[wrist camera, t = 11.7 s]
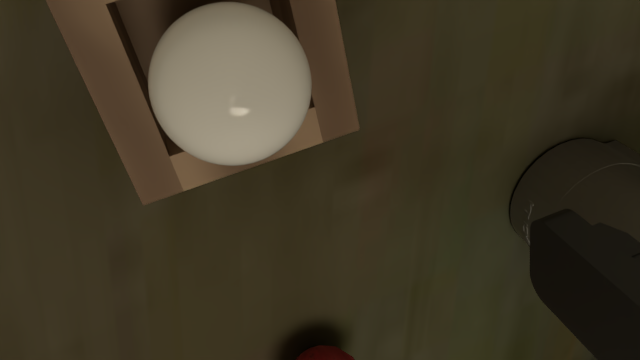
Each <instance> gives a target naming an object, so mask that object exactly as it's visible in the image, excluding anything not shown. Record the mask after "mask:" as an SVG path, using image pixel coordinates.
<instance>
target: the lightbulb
mask: <svg viewBox="0 0 640 360" xmlns="http://www.w3.org/2000/svg"><path fill="white" fill-rule="evenodd" d="M148 91H149V98H150V102H151V106H152V109H153V111H154V114H155V116H156V118H157V120H158V122H159V124H160V126H161V127H162V129H163V130H164V132H165V133H166V134H167V135H168V137H169V138H170V139H171V140H172V141H173V142H174V143H175V144H176V145H177V146H179V147H180V148H181V149H182V150H184V151H185V152H187V153H188V154H190V155H192V156H194V157H196V158H198V159H200V160H203V161H205V162H209V163H212V164H217V165H225V166H239V165H247V164H251V163H255V162H258V161H261V160H263V159H266V158H268V157H270V156H272V155H273V154H275V153H276V152H278V151H279V150H281V149H282V148H283V147H284V146H285V145H287V144H288V143H289V142H290V141H291V139H292V138H293V137H294V136H295V135H296V133H297V132H298V130H299V129H300V127H301V126H302V124H303V122H304V120H305V117H306V115H307V112H308V109H309V105H310V100H311V93H312V79H311V71H310V67H309V63H308V59H307V57H306V54H305V52H304V49H303V47H302V46H301V44H300V42H299V40H298V39H297V38H296V36H295V35H294V33H293V32H292V31H291V30H290V29H289V28H288V27H287V26H286V25H285V24H284V23H283V22H282V21H281V20H279V19H278V18H277V17H275V16H274V15H272V14H271V13H269V12H267V11H265V10H263V9H261V8H258V7H256V6H253V5H249V4H245V3H240V2H215V3H210V4H206V5H203V6H200V7H197V8H195V9H193V10H191V11H189V12H187V13H186V14H184V15H182V16H181V17H180V18H178V19H177V20H176V21H175V22H174V23H173V24H172V25H171V26H170V27H169V28H168V29H167V30H166V31H165V32H164V34H163V35H162V37H161V38H160V40H159V41H158V43H157V45H156V47H155V49H154V52H153V55H152V58H151V61H150V66H149V72H148Z"/></svg>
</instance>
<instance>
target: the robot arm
mask: <svg viewBox="0 0 640 360" xmlns="http://www.w3.org/2000/svg"><path fill="white" fill-rule="evenodd" d="M510 218H511V224H512V226H513V228H514V230H515V232H516V233H517V234H518V235H519V236H520V237H521V238H522V239H523V240H524V241H525V242H526V243H527V244H528V245H529V246H530V277H531V281H532V284H533V287H534V289H535V291H536V293H537V294H538V296H539V297H540V299H541V300H542V301H543V302H544V304H545V305H546V306H547V307H548V308H549V309H550V310H551V311H552V312H553V313H554V314H555V315H556V316H557V317H558V318H559V319H560V321H561V322H562V323H563V324H564V325H565V326H566V327H567V328H568V329H569V330H570V331H571V332H572V333H573V334H574V335H575V336H576V337H577V339H578V340H579V341H580V342H581V343H582V344H583V345H584V346H585V347H586V348H587V349H588V350H589V351H590V352H591V353H592V354H593V355H594V357H595V358H596V359H597V360H640V154H639V153H637V152H635V151H634V150H632V149H630V148H629V147H627V146H625V145H623V144H622V143H620V142H618V141H617V140H614V141H612V142H609V143H601V142H599V141H596V140H594V139H584V138H582V139H576V140H571V141H568V142H565V143H563V144H560V145H558V146H556V147H555V148H553V149H551V150H549V151H548V152H547V153H545V154H544V155H543V156H541V157H540V158H539V159H538V160H537V161H536V162H535V163H534V164H533V165H532V166H531V167H530V168H529V169H528V170H527V172H526V173H525V174H524V176H523V177H522V179H521V180H520V182H519V184H518V186H517V188H516V190H515V192H514V195H513V198H512V201H511V208H510Z"/></svg>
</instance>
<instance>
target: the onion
mask: <svg viewBox="0 0 640 360" xmlns="http://www.w3.org/2000/svg"><path fill="white" fill-rule="evenodd" d="M296 360H354V358H353V357H352V356H350V355H349V354H347V353H346V352H344V351H342V350H341V349H339V348H338V347H336V346H324V345H318V346H315V347H312V348H309V349H307V350H306V351H304V352H303V353H301V354H300V355H299V356H298V358H297V359H296Z"/></svg>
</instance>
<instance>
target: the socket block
mask: <svg viewBox="0 0 640 360" xmlns="http://www.w3.org/2000/svg"><path fill="white" fill-rule="evenodd" d="M46 2H47V4H48V6H49V8H50V11H51V13H52V15H53V17H54V19H55V21H56V23H57V25H58V27H59V30H60V32H61V34H62V36H63V38H64V40H65V42H66V44H67V46H68V48H69V51H70V53H71V55H72V57H73V59H74V61H75V63H76V65H77V67H78V69H79V72H80V74H81V76H82V78H83V80H84V82H85V84H86V86H87V88H88V91H89V93H90V95H91V97H92V99H93V101H94V103H95V105H96V107H97V109H98V112H99V114H100V116H101V118H102V120H103V122H104V124H105V126H106V128H107V130H108V133H109V135H110V137H111V139H112V141H113V143H114V145H115V147H116V149H117V151H118V154H119V156H120V158H121V160H122V162H123V164H124V166H125V168H126V170H127V173H128V175H129V177H130V179H131V181H132V183H133V185H134V187H135V189H136V191H137V194H138V196H139V198H140V200H141V202H142V204H143V205H146V204H149V203H152V202H154V201H157V200H160V199H163V198H166V197H169V196H172V195H174V194H177V193H180V192H183V191H186V190H189V189H192V188H194V187H197V186H200V185H203V184H206V183H209V182H212V181H214V180H217V179H220V178H223V177H226V176H229V175H231V174H234V173H237V172H240V171H243V170H246V169H249V168H251V167H254V166H257V165H260V164H263V163H266V162H269V161H271V160H274V159H277V158H280V157H283V156H286V155H289V154H291V153H294V152H297V151H300V150H303V149H306V148H309V147H311V146H314V145H317V144H320V143H323V142H326V141H329V140H331V139H334V138H337V137H340V136H343V135H346V134H349V133H351V132H354V131H357V130H360V128H359V122H358V117H357V112H356V107H355V101H354V96H353V91H352V85H351V80H350V75H349V70H348V64H347V59H346V54H345V49H344V43H343V38H342V33H341V28H340V22H339V17H338V12H337V6H336V1H335V0H46ZM215 2H240V3H245V4H249V5H253V6H256V7H258V8H261V9H263V10H265V11H267V12H269V13H271V14H272V15H274V16H275V17H277V18H278V19H279V20H281V21H282V22H283V23H284V24H285V25H286V26H287V27H288V28H289V29H290V30H291V31H292V32H293V33H294V35H295V36H296V38H297V39H298V40H299V42H300V44H301V46H302V47H303V49H304V52H305V54H306V57H307V59H308V63H309V67H310V71H311V79H312V93H311V100H310V105H309V109H308V112H307V115H306V117H305V120H304V122H303V124H302V126H301V127H300V129H299V130H298V132H297V133H296V135H295V136H294V137H293V138H292V139H291V141H290V142H289V143H288V144H287V145H285V146H284V147H283V148H282V149H281V150H279V151H278V152H276V153H275V154H273V155H272V156H270V157H268V158H266V159H263V160H261V161H258V162H255V163H251V164H247V165H239V166H225V165H217V164H212V163H209V162H205V161H203V160H200V159H198V158H196V157H194V156H192V155H190V154H188V153H187V152H185V151H184V150H182V149H181V148H180V147H179V146H177V145H176V144H175V143H174V142H173V141H172V140H171V139H170V138H169V137H168V135H167V134H166V133H165V132H164V130H163V129H162V127H161V126H160V124H159V122H158V120H157V118H156V116H155V114H154V111H153V109H152V106H151V102H150V98H149V91H148V72H149V66H150V61H151V58H152V55H153V52H154V49H155V47H156V45H157V43H158V41H159V40H160V38H161V37H162V35H163V34H164V32H165V31H166V30H167V29H168V28H169V27H170V26H171V25H172V24H173V23H174V22H175V21H176V20H177V19H178V18H180V17H181V16H182V15H184V14H186V13H187V12H189V11H191V10H193V9H195V8H197V7H200V6H203V5H206V4H210V3H215Z"/></svg>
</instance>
